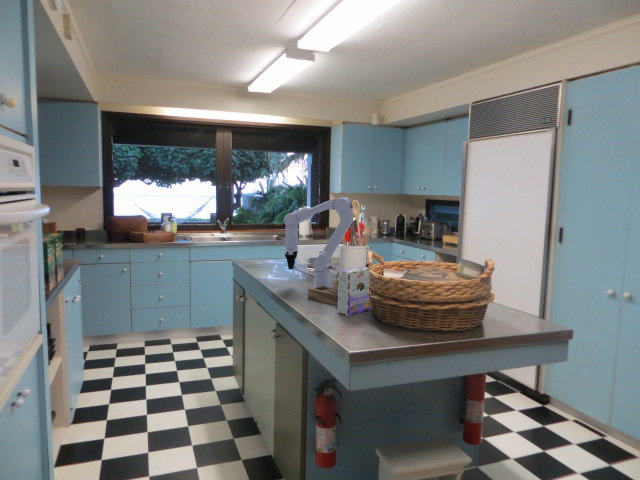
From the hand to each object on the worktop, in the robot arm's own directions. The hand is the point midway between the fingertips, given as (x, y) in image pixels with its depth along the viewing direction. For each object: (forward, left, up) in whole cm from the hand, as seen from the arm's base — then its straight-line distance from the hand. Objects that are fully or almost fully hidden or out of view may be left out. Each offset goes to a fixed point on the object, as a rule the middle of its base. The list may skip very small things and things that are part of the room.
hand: (291, 267), depth 215 cm
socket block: (+4, +28, -9) cm, 30 cm away
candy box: (+10, +47, -10) cm, 49 cm away
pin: (+4, +32, -8) cm, 33 cm away
